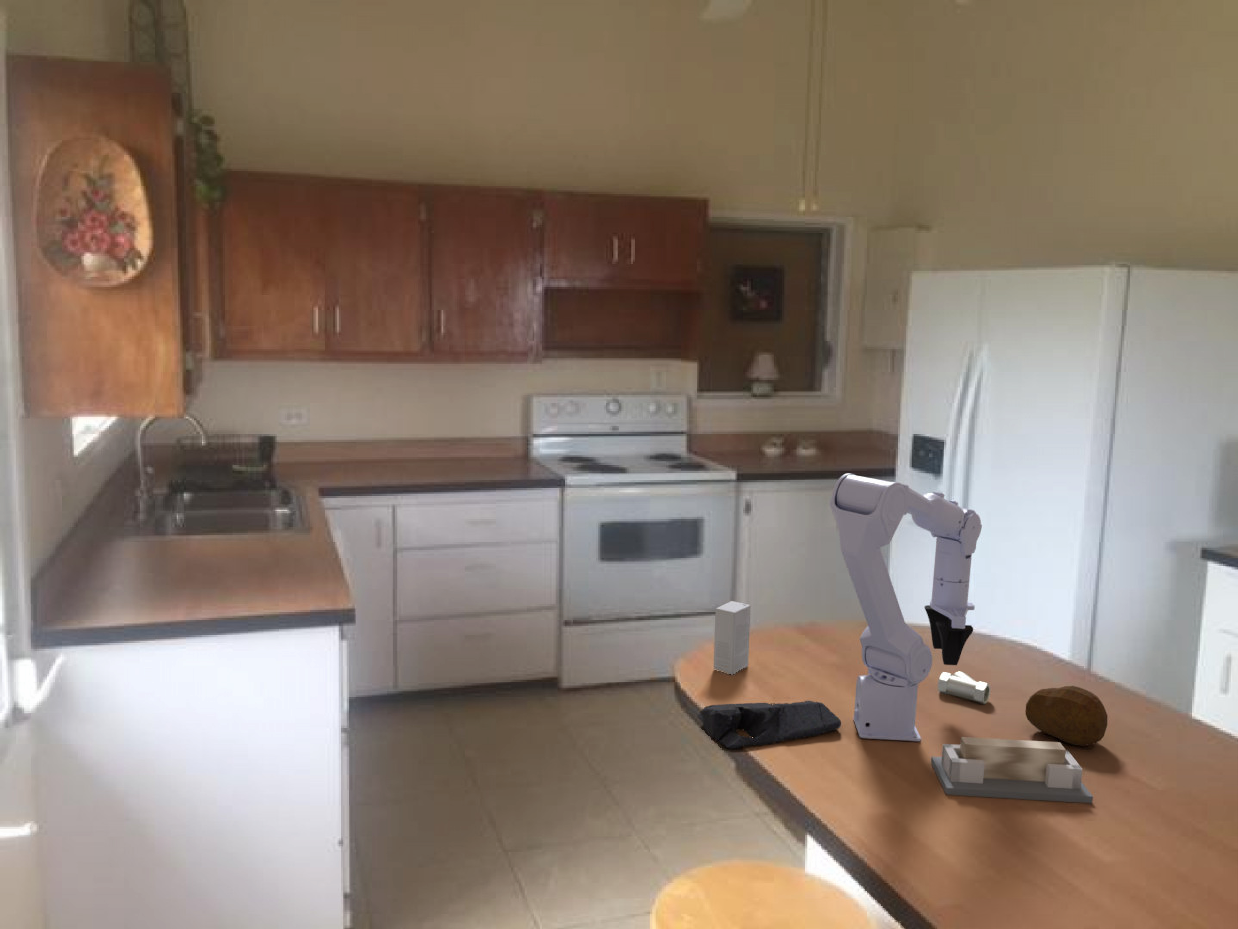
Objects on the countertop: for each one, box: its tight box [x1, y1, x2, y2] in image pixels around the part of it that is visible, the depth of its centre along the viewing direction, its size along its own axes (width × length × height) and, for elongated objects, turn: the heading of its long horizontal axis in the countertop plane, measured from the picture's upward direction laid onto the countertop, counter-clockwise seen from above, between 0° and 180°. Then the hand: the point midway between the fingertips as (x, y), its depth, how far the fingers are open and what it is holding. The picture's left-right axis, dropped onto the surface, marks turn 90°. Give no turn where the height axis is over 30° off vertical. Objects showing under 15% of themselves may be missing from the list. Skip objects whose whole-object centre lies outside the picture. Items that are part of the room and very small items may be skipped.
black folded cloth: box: [696, 700, 842, 750], centre depth 170 cm, size 15×22×5 cm
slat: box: [959, 736, 1067, 782], centre depth 152 cm, size 14×2×5 cm, turn 86°
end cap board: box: [930, 743, 1094, 804], centre depth 153 cm, size 20×10×4 cm, turn 86°
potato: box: [1025, 685, 1108, 747], centre depth 168 cm, size 8×12×9 cm
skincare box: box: [713, 600, 751, 676], centre depth 194 cm, size 6×4×12 cm
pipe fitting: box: [937, 671, 991, 705], centre depth 185 cm, size 8×4×7 cm
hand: (944, 656), depth 177 cm, fingers open, 7 cm apart
